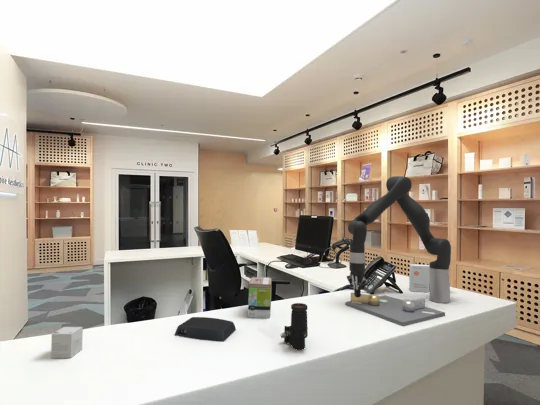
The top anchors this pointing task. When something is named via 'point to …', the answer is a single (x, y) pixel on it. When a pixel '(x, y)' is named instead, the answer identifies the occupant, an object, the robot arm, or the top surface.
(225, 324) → the external hard drive
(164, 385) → the top surface
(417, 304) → the chrome lever handle
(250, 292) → the tea box
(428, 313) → the board
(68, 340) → the skincare box
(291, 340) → the scope
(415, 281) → the skincare box
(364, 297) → the brass door handle
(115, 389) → the top surface
